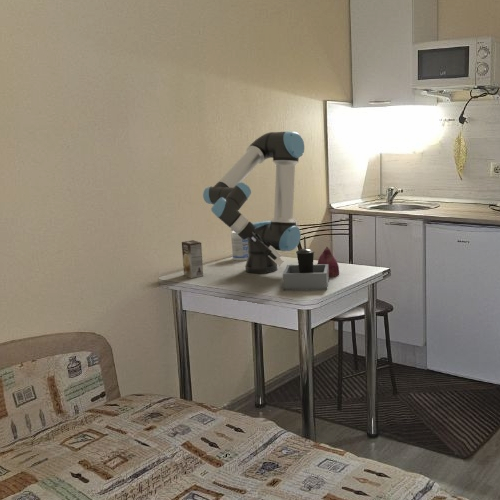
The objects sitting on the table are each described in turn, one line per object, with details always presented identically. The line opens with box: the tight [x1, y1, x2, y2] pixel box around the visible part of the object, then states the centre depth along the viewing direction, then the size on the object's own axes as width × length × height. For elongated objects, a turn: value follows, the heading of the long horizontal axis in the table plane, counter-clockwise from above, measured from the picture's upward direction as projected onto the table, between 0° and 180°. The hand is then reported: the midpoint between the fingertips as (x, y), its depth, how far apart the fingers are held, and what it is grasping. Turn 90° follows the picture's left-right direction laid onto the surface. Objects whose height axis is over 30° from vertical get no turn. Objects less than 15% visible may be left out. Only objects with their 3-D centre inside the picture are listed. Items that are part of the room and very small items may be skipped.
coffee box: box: [181, 239, 204, 279], centre depth 326 cm, size 9×6×16 cm
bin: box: [282, 263, 330, 291], centre depth 296 cm, size 18×18×7 cm
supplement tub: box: [231, 230, 248, 262], centre depth 359 cm, size 10×10×15 cm
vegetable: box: [316, 246, 340, 278], centre depth 311 cm, size 10×10×15 cm
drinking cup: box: [295, 236, 315, 273], centre depth 294 cm, size 8×8×20 cm
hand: (280, 260), depth 295 cm, fingers open, 13 cm apart
